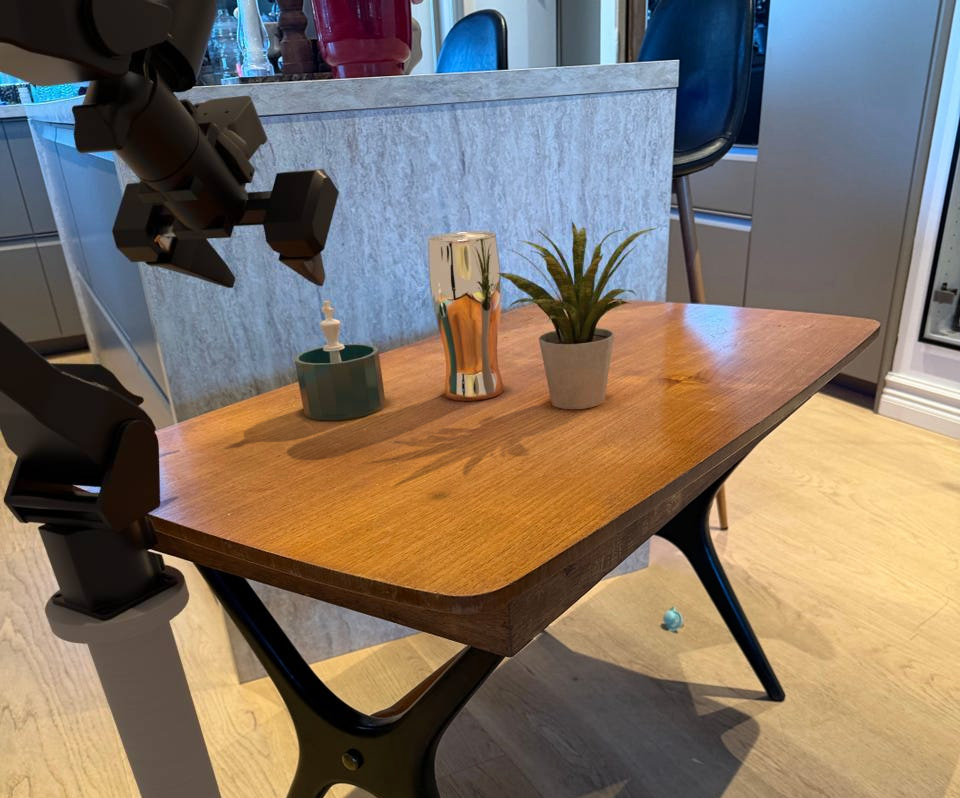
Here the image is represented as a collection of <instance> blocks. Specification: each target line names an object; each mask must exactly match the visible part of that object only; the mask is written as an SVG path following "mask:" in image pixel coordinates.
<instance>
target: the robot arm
mask: <svg viewBox="0 0 960 798" xmlns="http://www.w3.org/2000/svg"><path fill="white" fill-rule="evenodd" d="M217 17H218V5H217V1H216V0H0V73H3V74H5V75H8V76H10V77H13V78H15V79H18V80H21V81H24V82H26V83H28V84H32V85H34V86H37V87H41V88H44V87H51V86H61V85H71V84H79V83H86V82H89V83H88V86H87V90H86V92H85V96H84V98H83V101H82V104H76V105H72V107H71V113H72V115H73V120H74V128H73V139H74V140H73V141H74V145H75V149H76V151H77V152H78V153H79V154H82V155H83V154H93V153H106V152H115V153H116V155H117V156H118V157H119V158H120V159H121V160H122V161H123V163H125V165H126V166H127V167H129V169H130V170H131V171H132V173H134V175H135V176H136V177H137V178H138V179H139V181H137V182H129V183H126V184H125V188H124V191H123V195H122V198H121V201H120V205H119V206H118V211H117V214H116V217H115V220H114V223H113V226H112V230H111V235H112V238H113V242H114V244H115V248H116V249H117V250H118V251H119V252H120V253H121V254H122V255H124V257H125V258H127V260H129V262H130V263H145V264H146V265H147V266H149V267H157V268H160V269H164V270H168V271H171V272H175V273H177V274H183V275H186V276H188V277H193V278H195V279H199V280H202V281H205V282H207V283H208V282H209V283H210V284H211V283H212V284H214V285H218V286H221V287H224V288H227V289H233V288H234V286H235V282H236V276H235V275H234V273H233V272H232V270H231V268H230V266H229V265H228V264H227V263H226V262H225V260H224V259H223V258H222V257H221V255H220V254H219V252H218V251H217V250H216V249H215V247H214V246H213V245H212V244H211V243H210V241H209V239H231V238H232V234H233V231H234V228H235V227H247V226H262V227H263V232H264V237H265V242H266V243H267V245H268V246H269V247H270V249H271V250H272V251H273V252H275V253H277V254H279V256H278V259H277V260H278V261H279V262H280V263H282V264H283V265H284V266H286V267H287V268H289V269H291V270H292V271H294V272H295V273H296V274H298V275H299V276H301V277H303V278H304V279H306V280H307V281H308V282H310V283H312V284H314V285H316V286H317V287H323V286H324V285H325V280H326V272H325V267H324V262H323V257H322V252H323V251H324V250H325V248H326V244H327V240H328V236H329V233H330V228H331V224H332V221H333V218H334V217H333V216H334V213H335V210H336V205H337V201H338V198H339V194H340V191H339V190H338V188H337V186H336V185H335V183H334V182H333V180H332V178H331V177H330V176H329V174H328V173H327V172H326V171H325V170H324V168H319V169H318V168H317V169H305V170H291V171H290V170H289V171H281V172H277V173H275V178H274V181H273V185H272V187H271V190H265V191H251V192H250V191H248V190H247V189H246V185H247V184H252V182H253V179H254V177H255V172H256V169H255V168H254V166H253V165H252V163H251V162H250V160H251V159H252V157H253V156H254V155H255V153H256V152H257V150H259V148H260V147H261V145H265V144H266V143H267V142H268V136H267V134H266V131H265V128H264V126H263V124H262V121H261V118H260V117H259V114H258V111H257V109H256V107H255V104H254V102H253V99H252V97H251V96H249V95H239V96H230V97H221V98H212V99H209V100H206V101H204V102H196V103H192V102H191V101H190V100H189V99H188V98H183V99H180V98H178V97H177V95H176V94H175V93H178V94H179V93H185V92H188V91H189V90H192V89H193V88H194V87H195V86H196V84H197V82H198V79H199V75H200V73H201V70H202V66H203V63H204V58H205V56H206V52H207V49H208V46H209V43H210V40H211V37H212V33H213V30H214V27H215V23H216V21H217ZM144 401H145V399H144V397H143V396H141V395H138V394H134V393H132V391H130V390H128V389H127V388H126V387H125V386H124V384H122V383H121V381H120V380H119V379H118V378H117V376H116V375H115V373H114V372H112V370H110V369H108V368H107V367H106V366H104V365H103V364H102V363H67V362H66V363H65V362H64V363H63V362H50V361H48V359H46V358H45V357H44V356H42V355H41V354H40V353H39V352H38V351H36V349H34V348H33V347H31V345H29V344H28V343H27V342H26V341H24V340H23V339H22V338H21V337H20V336H19V335H17V334H16V333H15V332H14V331H13V330H12V329H11V328H9V327H8V326H7V325H6V324H5V323H3V322H2V321H1V320H0V433H1V436H2V437H3V441H4V443H5V445H6V447H7V448H8V449H9V450H10V451H11V452H12V453H13V454H14V455H15V456H16V457H17V458H16V460H15V463H14V467H13V468H12V472H11V475H10V479H9V481H8V485H7V487H6V490H5V493H4V496H3V503H4V505H5V506H6V508H7V509H8V510H9V511H10V512H11V514H12V515H13V516H14V518H15V519H16V520H17V521H18V522H19V523H20V524H30V523H31V524H42V525H40V526H37V531H38V533H39V535H40V536H39V537H40V539H41V541H42V544H43V546H44V549H45V552H46V555H47V558H48V561H49V563H50V565H51V569H52V572H53V575H54V577H55V580H56V582H57V586H58V588H59V590H60V591H61V592H58V593H56V592H55V593H56V594H55V593H53V594H54V595H53V594H52V595H53V596H52V595H51V596H52V597H51V596H50V598H51V600H52V602H53V604H56V605H58V606H61V607H64V608H67V609H70V610H73V611H75V612H78V613H81V614H84V615H87V616H90V617H93V618H95V619H98V620H101V621H107V620H110V619H113V618H114V617H116V616H118V615H120V614H122V613H124V612H126V611H128V610H129V609H131V608H133V607H135V606H137V605H139V604H141V603H143V602H145V601H146V600H148V599H150V598H152V597H154V596H156V595H158V594H160V593H161V592H163V591H165V590H167V589H169V588H171V587H173V586H175V585H176V584H177V583H178V581H177V578H176V576H173V575H170V574H166V573H163V572H162V571H164V570H165V565H166V563H165V561H164V557H163V554H162V553H157V552H153V551H149V550H152V549H153V548H155V546H156V545H157V544H159V539H158V535H157V531H156V529H155V528H156V527H155V525H154V521H153V519H152V518H150V517H147V515H149V514H150V513H152V512H153V511H155V510H157V509H159V508H160V506H161V474H160V473H161V471H160V444H159V438H158V435H157V433H156V431H157V428H156V425H155V423H154V421H153V419H152V418H151V417H150V415H149V414H148V413H147V411H145V409H144V408H142V407H141V405H142V404H143V403H144ZM74 486H78V487H90V488H99V492H92V491H80V490H74Z"/></svg>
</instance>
